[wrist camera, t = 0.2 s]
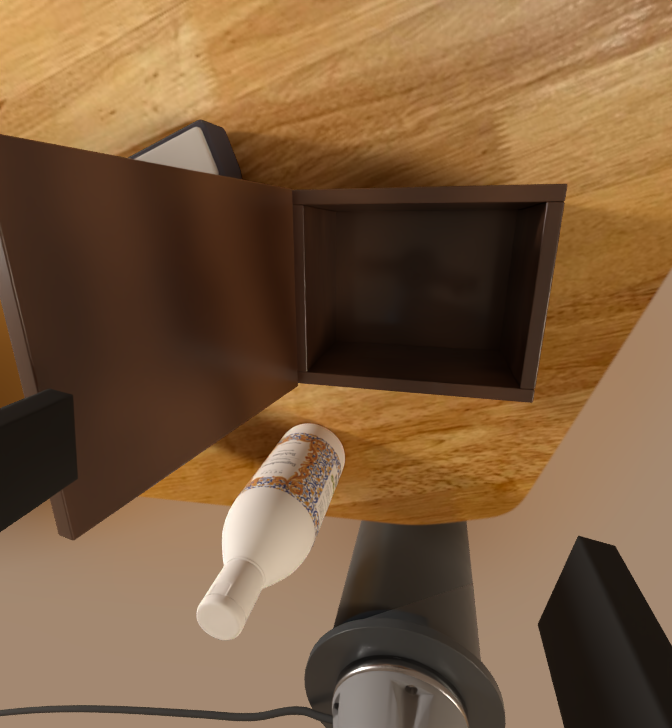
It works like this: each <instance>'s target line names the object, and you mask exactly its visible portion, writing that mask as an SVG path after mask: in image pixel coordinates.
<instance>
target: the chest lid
mask: <svg viewBox="0 0 672 728" xmlns="http://www.w3.org/2000/svg"><path fill="white" fill-rule="evenodd" d="M0 299H1V303H2V307H3V311H4V315H5V319H6V323H7V327H8V332H9V335H10V340H11V343H12V347H13V352H14V356H15V360H16V364H17V368H18V372H19V376H20V380H21V384H22V388H23V392H24V396H25V398H27V397H29V396H32V395H34V394H37V393H39V392H42V391H44V390H47V389H49V388H50V389H54V390H57V391H61V392H64V393H68V394H72V395H73V402H74V419H75V436H76V453H77V470H78V479H77V480H75V481H74V482H73V483H71V484H70V485H68V486H67V487H65V488H64V489H62V490H61V491H59V492H58V493H56V494H55V495H54V496H52V497H51V498H50V501H51V505H52V509H53V513H54V517H55V521H56V525H57V529H58V534H59V535H60V536H63V537H65V538H68V539H70V540H75V539H76V538H78V537H80V536H81V535H82V534H84V533H85V532H87V531H88V530H90V529H91V528H93V527H94V526H95V525H97V524H98V523H100V522H101V521H103V520H104V519H105V518H107V517H109V516H110V515H111V514H113V513H114V512H116V511H117V510H119V509H120V508H122V507H123V506H124V505H126V504H127V503H129V502H130V501H132V500H133V499H134V498H136V497H138V496H139V495H140V494H142V493H143V492H145V491H146V490H148V489H149V488H151V487H152V486H153V485H155V484H156V483H158V482H159V481H161V480H162V479H164V478H165V477H167V476H168V475H169V474H171V473H172V472H174V471H175V470H177V469H178V468H180V467H181V466H182V465H184V464H185V463H187V462H188V461H190V460H191V459H193V458H194V457H195V456H197V455H198V454H200V453H201V452H203V451H204V450H206V449H207V448H209V447H210V446H211V445H213V444H214V443H216V442H217V441H219V440H220V439H222V438H223V437H224V436H226V435H227V434H229V433H230V432H232V431H233V430H235V429H236V428H238V427H239V426H240V425H242V424H243V423H245V422H246V421H248V420H249V419H251V418H252V417H253V416H255V415H256V414H258V413H259V412H261V411H262V410H264V409H265V408H267V407H268V406H269V405H271V404H272V403H274V402H275V401H277V400H278V399H280V398H281V397H282V396H284V395H285V394H287V393H288V392H290V391H291V390H293V389H294V388H295V387H297V386H298V376H297V342H296V307H295V273H294V239H293V204H292V189H290V188H284V187H279V186H274V185H269V184H263V183H258V182H253V181H247V180H242V179H237V178H231V177H226V176H221V175H215V174H210V173H205V172H199V171H194V170H189V169H183V168H178V167H173V166H167V165H162V164H157V163H151V162H146V161H141V160H135V159H130V158H125V157H119V156H114V155H109V154H104V153H98V152H93V151H88V150H82V149H77V148H72V147H66V146H61V145H56V144H50V143H45V142H40V141H34V140H29V139H24V138H18V137H13V136H8V135H2V134H0Z"/></svg>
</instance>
